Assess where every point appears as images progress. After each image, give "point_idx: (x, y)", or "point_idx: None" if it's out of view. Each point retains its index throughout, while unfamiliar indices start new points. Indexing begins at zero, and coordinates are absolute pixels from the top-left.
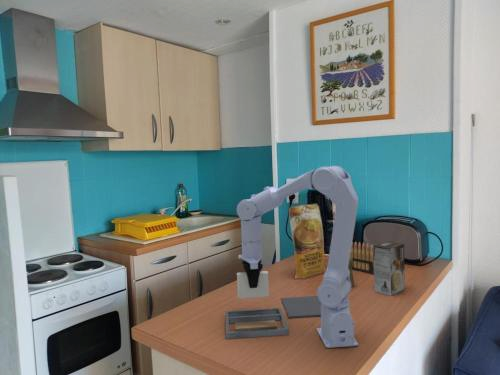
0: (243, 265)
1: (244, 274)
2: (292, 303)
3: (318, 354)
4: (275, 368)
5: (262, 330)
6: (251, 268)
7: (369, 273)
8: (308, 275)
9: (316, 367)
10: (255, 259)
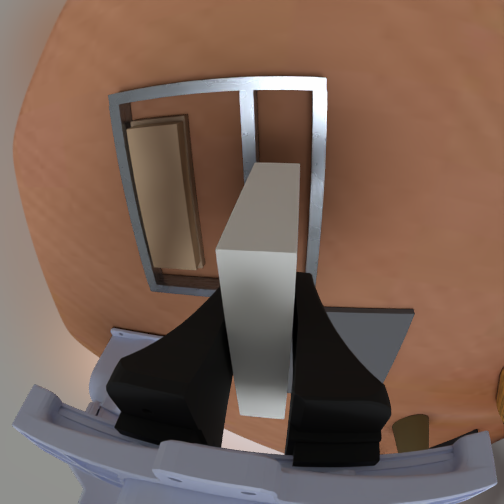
0: (121, 385)
1: (225, 310)
2: (356, 334)
3: (90, 307)
4: (31, 224)
5: (134, 220)
6: (34, 390)
7: (436, 446)
8: (500, 383)
9: (54, 290)
10: (89, 472)
